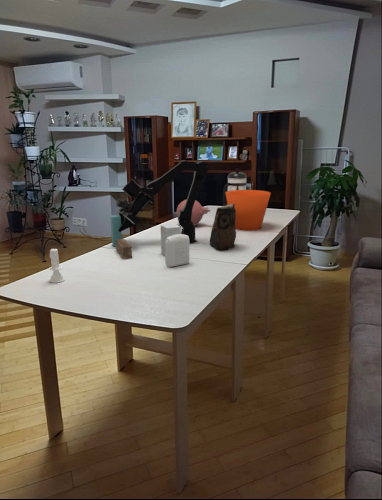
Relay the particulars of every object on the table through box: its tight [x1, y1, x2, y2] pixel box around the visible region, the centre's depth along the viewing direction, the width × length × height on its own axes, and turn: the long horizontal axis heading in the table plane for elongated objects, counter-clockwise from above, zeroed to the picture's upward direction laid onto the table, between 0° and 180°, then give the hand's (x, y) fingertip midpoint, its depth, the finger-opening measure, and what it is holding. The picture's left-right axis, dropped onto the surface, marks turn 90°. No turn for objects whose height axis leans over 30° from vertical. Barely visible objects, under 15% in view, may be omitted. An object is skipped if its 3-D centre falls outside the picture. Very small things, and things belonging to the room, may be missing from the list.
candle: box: [48, 248, 66, 284], centre depth 136 cm, size 5×5×12 cm
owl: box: [209, 204, 237, 252], centre depth 175 cm, size 13×13×20 cm
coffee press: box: [222, 168, 248, 206], centre depth 254 cm, size 17×16×30 cm
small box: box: [160, 223, 182, 256], centre depth 165 cm, size 8×6×13 cm
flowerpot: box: [225, 189, 272, 232], centre depth 216 cm, size 25×25×20 cm
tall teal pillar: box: [109, 214, 123, 248], centre depth 180 cm, size 4×4×14 cm
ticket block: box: [115, 238, 133, 260], centre depth 168 cm, size 4×14×5 cm, turn 22°
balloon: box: [176, 199, 211, 226], centre depth 221 cm, size 15×20×15 cm
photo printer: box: [164, 234, 190, 268], centre depth 153 cm, size 10×4×12 cm, turn 123°
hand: (116, 229), depth 180 cm, fingers open, 9 cm apart
